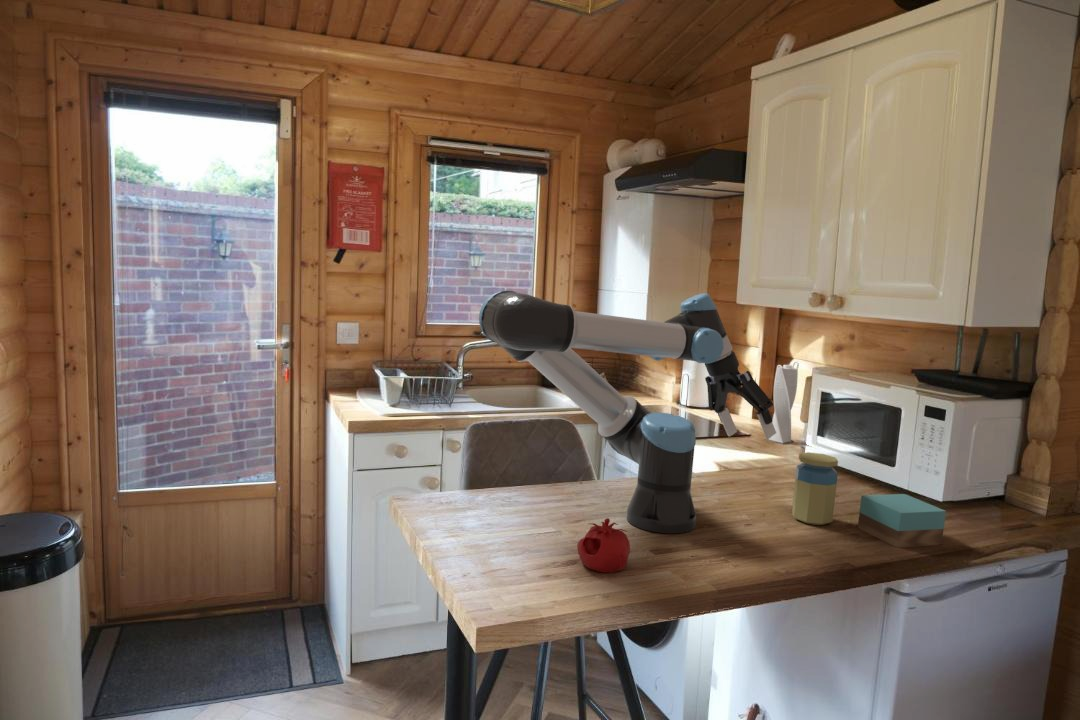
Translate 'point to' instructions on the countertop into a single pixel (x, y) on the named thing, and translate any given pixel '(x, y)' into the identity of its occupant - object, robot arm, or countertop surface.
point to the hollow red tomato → (604, 548)
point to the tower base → (900, 534)
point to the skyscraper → (784, 402)
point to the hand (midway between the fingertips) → (751, 434)
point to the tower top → (902, 512)
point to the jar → (815, 489)
